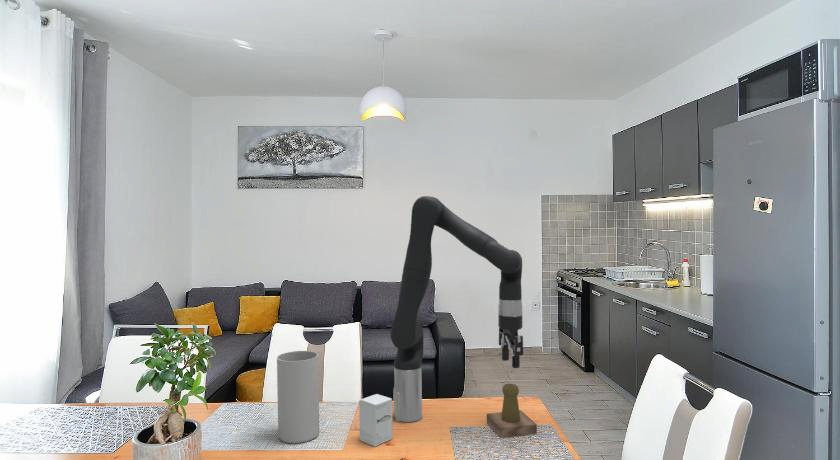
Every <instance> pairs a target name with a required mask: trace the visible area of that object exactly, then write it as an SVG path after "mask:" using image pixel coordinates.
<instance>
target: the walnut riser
mask: <svg viewBox="0 0 840 460" xmlns="http://www.w3.org/2000/svg"><path fill="white" fill-rule="evenodd" d="M519 413H520V421H519V422H515V423H509V422H505V421H503V420H502V419H501V416H502V411H501V412H489V413H486V425H488V426H489V427H490V428H491V429H492V430H493V432H495V434H496V435H497V436H498V437H499V438H500V439H503V438H504V439H505V438H511V437H512V438H513V437H520V436H521V437H522V436H529V435H537V433H538V424H537V423H536V422H535V421H533V419H532V418H530V417H529V416H528V415H527V414H525V413H524V412H523V411H522V410H520V409H519Z"/></svg>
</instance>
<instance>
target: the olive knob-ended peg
mask: <svg viewBox="0 0 840 460" xmlns="http://www.w3.org/2000/svg"><path fill="white" fill-rule="evenodd" d="M501 392H502V393H503V401H502V409H501V412H502V416H501V419H502V420H503V421H505V422H509V423H515V422H519V421H520V413H519V410H520V407H519V400H518V395H519V394H520V389H519V386H518V385H517V384H515V383H505V384H503V386H502V391H501Z"/></svg>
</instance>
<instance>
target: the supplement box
mask: <svg viewBox="0 0 840 460" xmlns="http://www.w3.org/2000/svg"><path fill="white" fill-rule="evenodd" d="M358 402H359V403H358V404H359V405H358V406H359V408H358V409H359V412H358V413H359V417H358V418H359V441H361V442H363V443H365V444H368V445H370V446H372V447H374V448H376V447H377V446H379V445H381V444H383V443H386V442H388V441H391V440H393V398H392V397H388V396H384V395H381V394H379V393H376V394H372V395H369V396H367V397H364V398H361V399H359V401H358Z"/></svg>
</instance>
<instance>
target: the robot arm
mask: <svg viewBox="0 0 840 460" xmlns="http://www.w3.org/2000/svg"><path fill="white" fill-rule="evenodd" d="M435 227H438V228H440V229H442V230H444V231H445V232H448V233H449V234H450V235H451V236H453V237H454V238H455V239H456V240H457V241H459V242H460V243H461V244H463V245H464V246H465V247H467V248H468V249H469V250H471V251H472V252H474V253H475V254H477V255H478V256H480V257H482V258H484V259H485V260H486V261H488V262H489V263H490V264H492V265H493V266H494V267H495V268H497V269H498V270H499V271H500V281H499V282H500V283H499V287H498V296H499V297H498V298H499V299H498V307H497V309H498V313H497V314H498V318H497V319H498V321H497V322H498V345H499V346H500V349H501V360H502V361H504V362H505V361H509V359H510V351H511V355H512V356H511V359H512V360H511V368H513V369H519V368H520V367H521V365H520V362H521V361H520V357H521V356H523V355H524V340H523V339H524V338H523V337H524V336H523V335H519V332H518V331H519V330H522V328H523V300H522V298H523V297H522V293H523V292H522V290H523V289H522V275H523V273H522V272H523V258H522V256H521V254H520V252H519V251H517V250H514V249H509V248H508V247H505V246H504V245H502V244H500V243H499V242H498V241H497V239H496V238H494V237H492V236H491V235H489V234H488V233H486V232H484V231H482V230H481V229H479V228H478V227H476V226H474V225H472V224H471V223H470V222H467V221H466V220H464V219H462V218H461V217H460V216H458V215H457V214H456V213H454V212H453V211H452V210H450V209H449V208H448V207H447V206H446V205H445V204H444V203H443V202H442V201H440V199H438V198H436V197H434V196H431V195H429V196H426V195H424V196H419V198H417V199H416V200H415V202H414V203H413V205H412V208H411V219H410V232H409V239H408V244H407V248H406V254H405V259H404V264H403V270H402V274H401V282H400V289H399V296H398V301H397V307H396V312H395V313H394V319H393V322H392V324H391V329H390V339H391V343H392V344H393V345H394V347H395V348H397V351H396V355H395V357H394V359H393V366H394V367H393V369H394V370H393V371H394V373H393V374H394V376H393V378H394V387H393V389H392V390H393V391H392V393H393V398H392V402H393V417H394V419H395V421H396V422H402V423H413V422H414V423H415V422H418V421H419V420H421V419H423V396H422V395H423V394H422V393H423V392H422V389H423V387H422V385H423V384H422V383H423V382H422V379H423V377H422V361H423V357H424V329H423V326H422V323H420V321H419V320H418V313H419V309H420V307H421V304H422V302H423V299H424V297H425V295H426V293H427V290H428V287H429V283H430V280H431V273H432V266H433V255H432V239H433V232H434V228H435Z"/></svg>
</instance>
